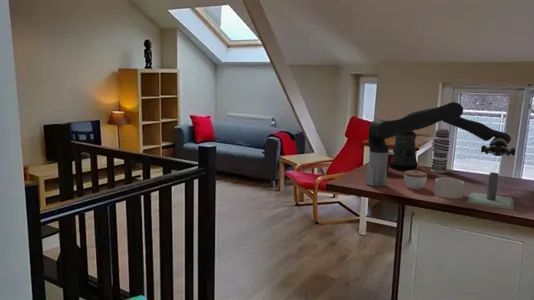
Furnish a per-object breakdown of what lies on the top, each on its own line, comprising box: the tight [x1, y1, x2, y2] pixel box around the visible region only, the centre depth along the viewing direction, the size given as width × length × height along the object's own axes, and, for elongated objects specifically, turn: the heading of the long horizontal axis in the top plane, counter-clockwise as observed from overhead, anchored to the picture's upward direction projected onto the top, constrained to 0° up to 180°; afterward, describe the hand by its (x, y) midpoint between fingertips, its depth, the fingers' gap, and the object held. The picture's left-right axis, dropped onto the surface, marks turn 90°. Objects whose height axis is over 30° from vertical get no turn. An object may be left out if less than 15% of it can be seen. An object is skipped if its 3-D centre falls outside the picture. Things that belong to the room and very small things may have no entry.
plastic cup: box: [387, 150, 394, 173], centre depth 247 cm, size 11×11×12 cm
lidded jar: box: [404, 168, 428, 190], centre depth 213 cm, size 11×11×9 cm
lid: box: [470, 171, 512, 210], centre depth 191 cm, size 16×16×13 cm
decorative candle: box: [430, 128, 451, 174], centre depth 250 cm, size 9×9×25 cm
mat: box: [466, 192, 515, 211], centre depth 192 cm, size 18×18×1 cm
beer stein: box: [389, 131, 419, 171], centre depth 258 cm, size 16×19×25 cm
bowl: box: [433, 177, 465, 199], centre depth 201 cm, size 12×12×7 cm
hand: (497, 152), depth 198 cm, fingers open, 8 cm apart
